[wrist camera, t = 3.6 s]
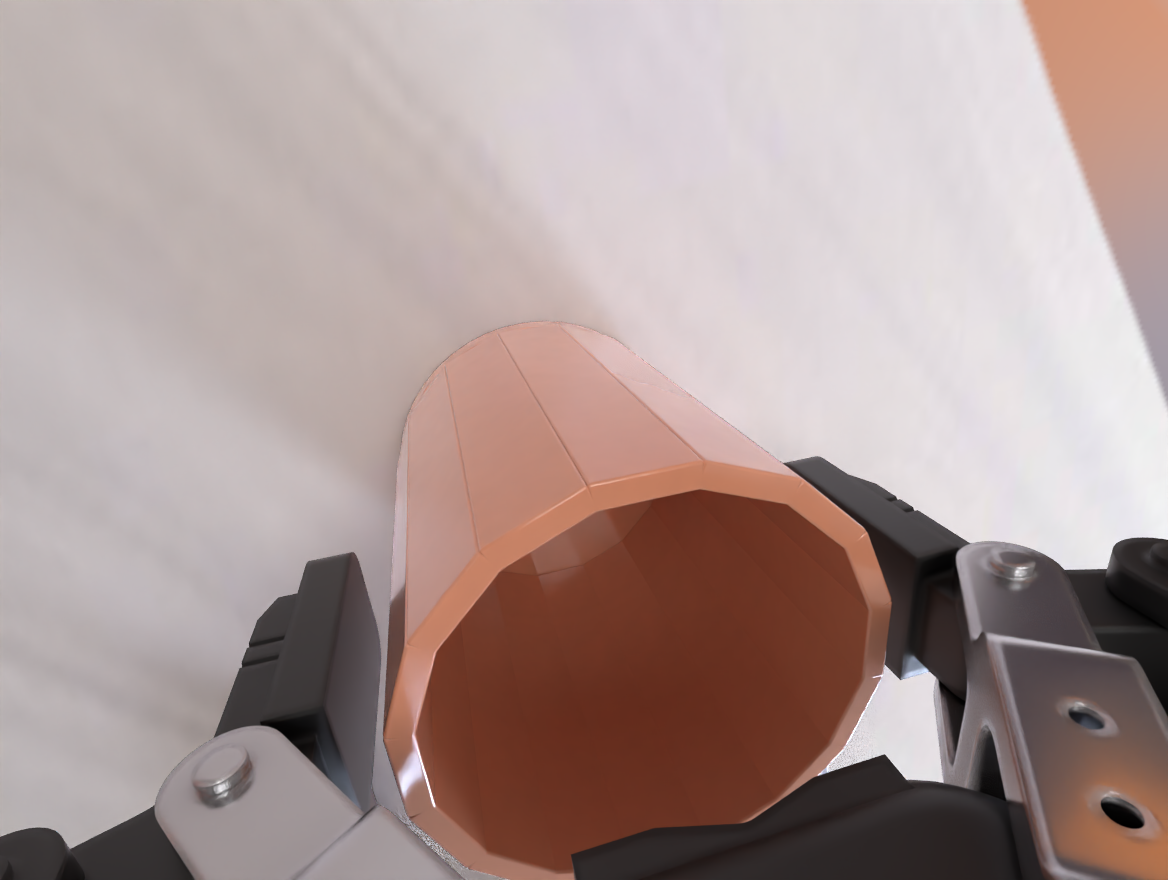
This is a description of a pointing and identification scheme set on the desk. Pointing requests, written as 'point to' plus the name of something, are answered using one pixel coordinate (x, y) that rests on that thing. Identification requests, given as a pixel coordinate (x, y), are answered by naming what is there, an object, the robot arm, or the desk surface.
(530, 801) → the tumbler
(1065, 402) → the desk surface
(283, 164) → the desk surface
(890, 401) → the desk surface
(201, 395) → the desk surface
